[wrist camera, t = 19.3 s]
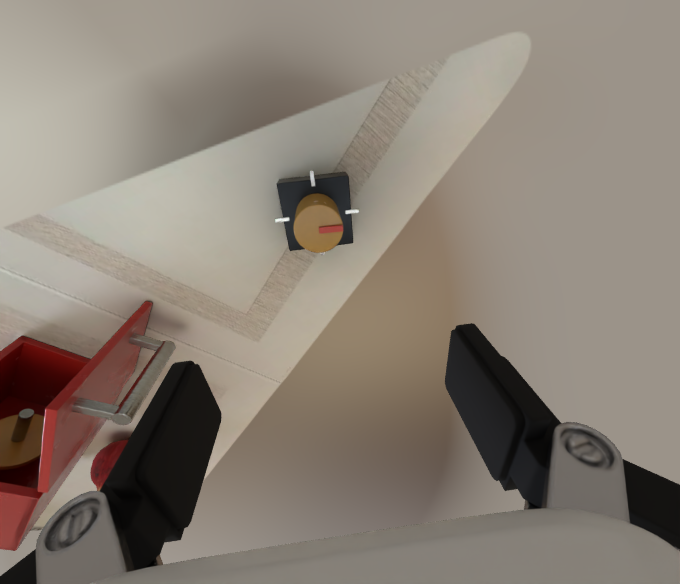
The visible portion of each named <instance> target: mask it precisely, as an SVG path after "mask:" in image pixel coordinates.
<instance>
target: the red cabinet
mask: <svg viewBox="0 0 680 584" xmlns="http://www.w3.org/2000/svg"><path fill="white" fill-rule="evenodd" d="M90 360H91V359H88V358H85V357H82V356H79V355H77V354H74V353H71V352H68V351H65V350H62V349H59V348H56V347H54V346H51V345H48V344H45V343H42V342H39V341H36V340H33V339H31V338H28V337H25V336H21V337H19V338H18V339H17V340H15V341H14V342H13V343H11V344H10V345H9V346H7V347H6V348H4V349H3V350H2V351H0V549H5V550H13V551H15V550H17V549H18V547H19V546H20V544H21V543H22V541H23V540H24V539H25V537H26V536H27V534H28V532H29V531H30V530H31V528H32V527H33V526H34V524H35V523H36V521H37V520H38V518H39V517H40V515H41V514H42V513H43V511H44V510H45V508H46V507H47V505H48V504H49V502H50V501H51V499H52V498H53V497H54V495H55V494H56V492H57V491H58V489H59V488H60V486H61V485H62V484H63V482H64V481H65V479H66V478H67V476H68V475H69V473H70V472H71V471H72V469H73V468H74V466H75V465H76V463H77V462H78V460H79V459H80V458H81V456H82V455H83V453H84V452H85V450H86V449H87V447H88V446H89V444H90V443H91V442H92V440H93V439H94V437H95V436H96V434H97V433H98V431H99V430H100V429H101V427H102V426H103V424H104V423H105V421H106V419H105V418H101V419H100V420H99V422H98V423H97V424H96V426H95V427H94V429H93V430H92V431H91V433H90V434H89V436H88V437H87V438H86V440H85V441H84V443H83V444H82V445H81V447H80V448H79V450H78V451H77V452H76V454H75V455H74V457H73V458H72V459H71V461H70V462H69V464H68V465H67V466H66V468H65V469H64V471H63V472H62V473H61V475H60V476H59V478H58V479H57V480H56V482H55V483H54V485H53V486H52V487H51V489H50V490H49V492H48V493H43V492H38V482H39V471H40V460H41V449H42V438H43V428H44V417H45V408H46V407H47V406H48V405H49V404H50V403H51V402H52V401H53V400H54V398H55V397H56V396H57V395H58V394H59V393H60V392H61V391H62V390H63V389H64V388H65V387H66V386H67V385H68V384H69V382H70V381H71V380H72V379H73V378H74V377H75V376H76V375H77V374H78V373H79V372H80V371H81V370H82V369H83V367H84V366H85V365H86V364H87V363H88V362H89V361H90ZM121 390H122V389H121ZM120 392H121V391H120ZM120 392H119V394H120ZM119 394H118V395H117V396H116V398H115V399H114V401H113V402H112V403H111V404H112V405H114V404H115V402H116V400H117V398H118V396H119Z"/></svg>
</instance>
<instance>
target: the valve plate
mask: <svg viewBox="0 0 680 584" xmlns="http://www.w3.org/2000/svg"><path fill="white" fill-rule="evenodd" d="M277 189H278V194H279V199H280V204H281V209H282V214H283V218H277V219H275V221H276V222H284V224H285V229H286V235H287V240H288V245H289V250H290V251H293V250H301V249H305V248H303V247H302V246H301V245H300V244H299V243H298V241H297V240H296V238H295V235H294V221H295V214H296V209H297V206H298V204H299V203H300V201H301V200H302V199H303V198H304V197H306V196H308V195H310V194H317V193H318V194H324V195H326V196H328V197H330V198H331V199H332V200H333V201H334V202H335V204H336V205H337V208H338V211H339V214H340V217H341V220H342V223H343V234H342V237H341V240H340V241H339V243H338V244H337V245H342V244H350V243H353V231H352V217H351V213H359V209H352V210H351V204H350V190H349V177H348V175H347V173H346V172H340V173H331V174H323V175H314V172H313V170H312V171H310V176H305V177H296V178H288V179H279V181H278V182H277ZM323 254H324V252H321V255H323Z"/></svg>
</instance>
